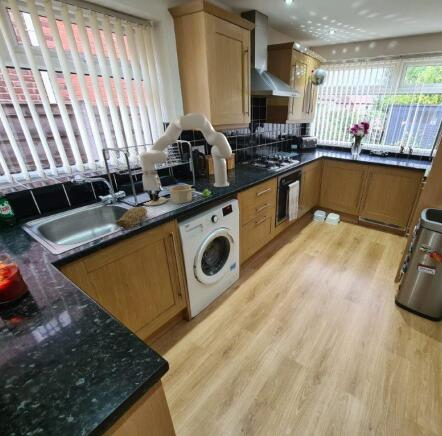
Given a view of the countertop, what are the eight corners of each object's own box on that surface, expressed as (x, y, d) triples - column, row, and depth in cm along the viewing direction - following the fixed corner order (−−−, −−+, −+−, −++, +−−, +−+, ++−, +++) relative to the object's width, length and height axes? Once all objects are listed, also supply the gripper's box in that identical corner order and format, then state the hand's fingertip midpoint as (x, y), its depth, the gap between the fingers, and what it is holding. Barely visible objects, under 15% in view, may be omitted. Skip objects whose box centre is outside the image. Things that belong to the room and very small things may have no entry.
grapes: (204, 193, 176) (204, 187, 174) (211, 194, 176) (210, 187, 174) (200, 198, 168) (199, 191, 166) (207, 198, 167) (206, 192, 165)
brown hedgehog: (134, 232, 125) (156, 210, 140) (125, 220, 120) (150, 199, 136) (115, 233, 129) (139, 212, 145) (107, 221, 125) (132, 201, 140)
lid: (150, 198, 169) (148, 189, 166) (170, 198, 167) (169, 190, 165) (138, 205, 156) (136, 196, 153) (160, 206, 154) (158, 197, 151)
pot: (173, 196, 172) (171, 184, 169) (198, 196, 170) (197, 185, 167) (164, 202, 160) (161, 190, 157) (191, 203, 158) (190, 191, 154)
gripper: (164, 171, 156) (169, 198, 163) (140, 171, 158) (146, 197, 165) (158, 174, 149) (163, 202, 156) (133, 173, 151) (140, 201, 158)
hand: (154, 199), depth 161 cm, fingers open, 3 cm apart
